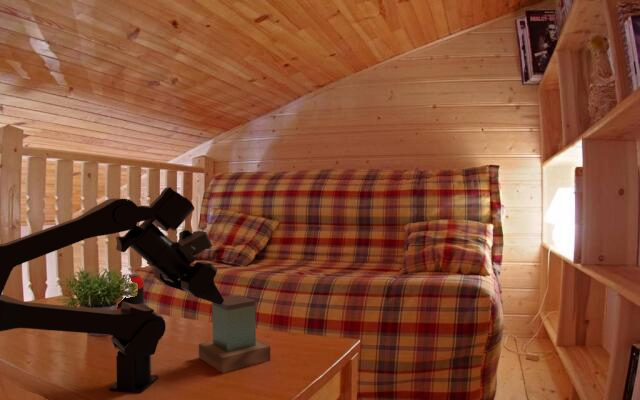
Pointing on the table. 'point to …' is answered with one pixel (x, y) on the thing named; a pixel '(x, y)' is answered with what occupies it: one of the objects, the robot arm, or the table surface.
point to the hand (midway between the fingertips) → (211, 298)
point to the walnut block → (233, 356)
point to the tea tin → (234, 323)
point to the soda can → (140, 295)
